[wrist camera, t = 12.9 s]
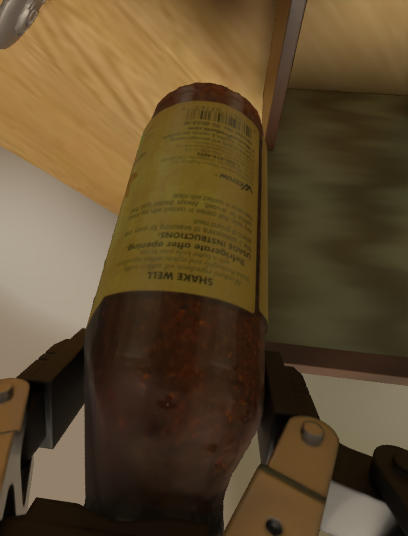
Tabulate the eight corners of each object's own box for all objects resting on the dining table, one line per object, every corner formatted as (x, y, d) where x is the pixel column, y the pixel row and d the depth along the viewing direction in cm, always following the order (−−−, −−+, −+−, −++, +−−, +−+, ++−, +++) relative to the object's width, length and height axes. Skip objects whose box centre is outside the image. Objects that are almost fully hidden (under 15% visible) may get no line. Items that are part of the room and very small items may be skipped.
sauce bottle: (124, 113, 16) (-154, 768, 6) (233, 44, 13) (44, 1288, 2) (195, 196, 20) (112, 643, 10) (289, 161, 17) (305, 764, 7)
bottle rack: (534, -86, 18) (1194, 289, 5) (416, 108, 28) (537, 401, 15) (293, -94, 19) (335, 213, 6) (262, 98, 29) (252, 367, 16)
